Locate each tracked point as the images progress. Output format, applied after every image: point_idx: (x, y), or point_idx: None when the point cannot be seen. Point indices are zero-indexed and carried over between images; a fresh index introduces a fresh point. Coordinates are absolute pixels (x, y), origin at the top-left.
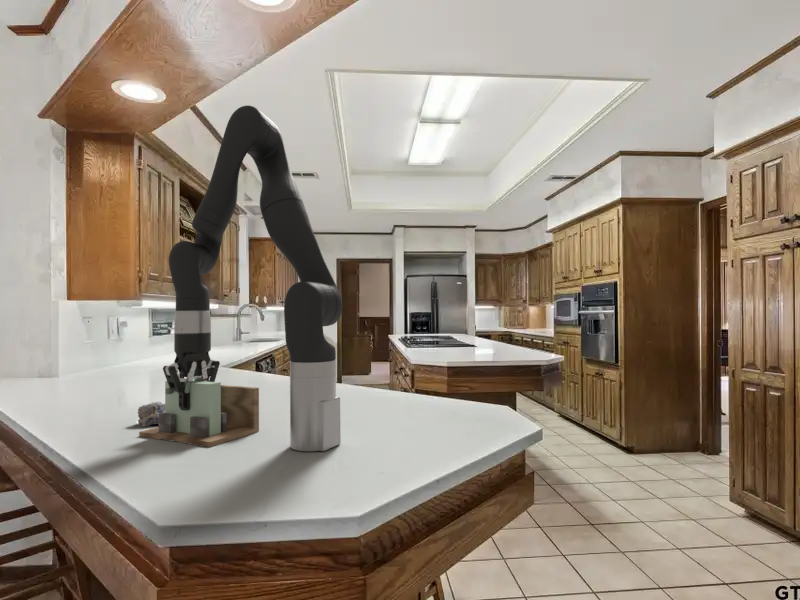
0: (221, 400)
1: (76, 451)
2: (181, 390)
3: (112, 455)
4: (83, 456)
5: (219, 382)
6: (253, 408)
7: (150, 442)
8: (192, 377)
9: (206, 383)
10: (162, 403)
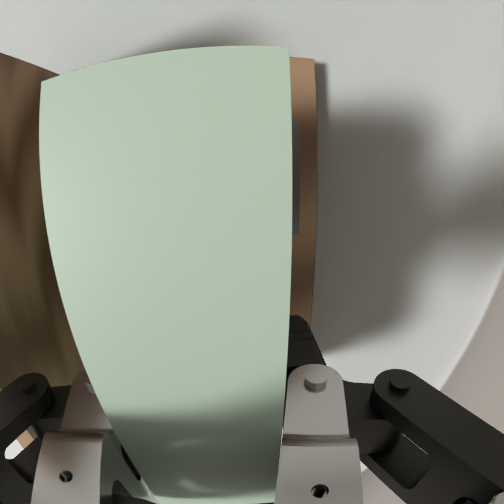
0: (30, 311)
1: (434, 378)
2: (378, 377)
3: (455, 282)
4: (463, 330)
5: (47, 96)
6: (24, 67)
7: (342, 320)
8: (295, 483)
9: (226, 204)
10: (152, 498)
